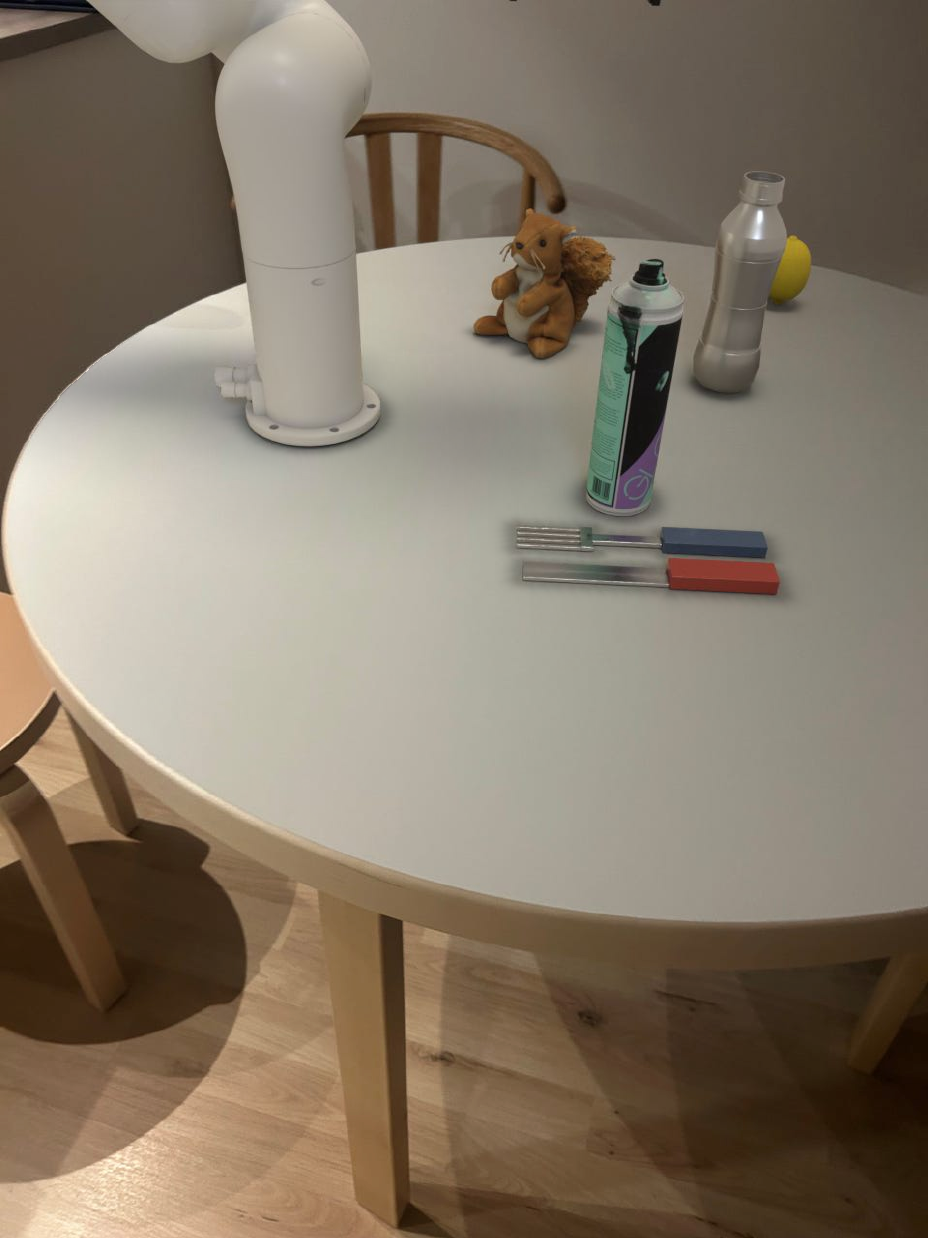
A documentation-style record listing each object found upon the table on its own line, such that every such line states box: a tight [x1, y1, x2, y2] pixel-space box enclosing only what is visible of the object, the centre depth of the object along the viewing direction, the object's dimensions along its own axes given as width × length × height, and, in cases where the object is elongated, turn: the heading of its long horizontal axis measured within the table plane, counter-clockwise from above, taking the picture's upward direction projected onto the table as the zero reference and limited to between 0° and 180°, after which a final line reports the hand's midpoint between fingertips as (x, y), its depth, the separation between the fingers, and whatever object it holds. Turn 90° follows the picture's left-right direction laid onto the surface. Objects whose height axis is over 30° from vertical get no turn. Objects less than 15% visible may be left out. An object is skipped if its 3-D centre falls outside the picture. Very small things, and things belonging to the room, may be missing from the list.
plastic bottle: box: [692, 170, 788, 393], centre depth 91 cm, size 6×7×20 cm
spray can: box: [585, 258, 685, 517], centre depth 75 cm, size 6×6×20 cm
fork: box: [516, 524, 768, 559], centre depth 76 cm, size 20×3×1 cm, turn 87°
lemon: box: [768, 235, 812, 305], centre depth 112 cm, size 6×6×8 cm
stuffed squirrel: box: [473, 208, 617, 359], centre depth 102 cm, size 10×14×13 cm
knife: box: [522, 557, 781, 595], centre depth 72 cm, size 19×2×1 cm, turn 87°
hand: (583, 0), depth 67 cm, fingers open, 9 cm apart
